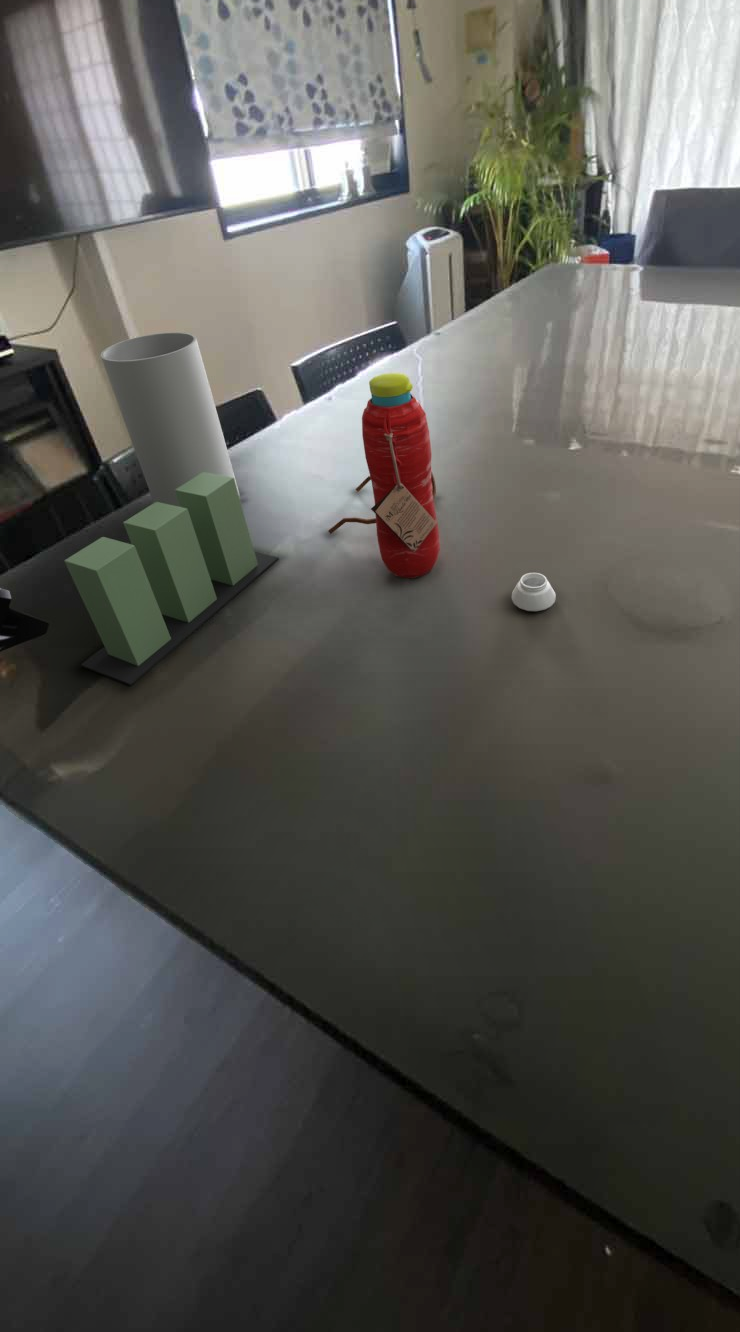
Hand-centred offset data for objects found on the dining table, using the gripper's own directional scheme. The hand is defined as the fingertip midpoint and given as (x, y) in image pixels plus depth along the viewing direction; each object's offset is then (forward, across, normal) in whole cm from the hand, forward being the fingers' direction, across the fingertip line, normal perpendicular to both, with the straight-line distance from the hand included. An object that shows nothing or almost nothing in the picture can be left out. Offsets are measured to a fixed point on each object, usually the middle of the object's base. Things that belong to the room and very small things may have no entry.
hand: (14, 616), depth 62 cm
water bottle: (+35, -21, -15) cm, 43 cm away
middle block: (+23, +2, -4) cm, 23 cm away
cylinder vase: (+38, +19, -18) cm, 46 cm away
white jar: (+35, -37, -16) cm, 53 cm away
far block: (+28, +2, -10) cm, 30 cm away
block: (+17, +2, +2) cm, 17 cm away
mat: (+23, +2, -4) cm, 24 cm away
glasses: (+43, -10, -24) cm, 50 cm away
